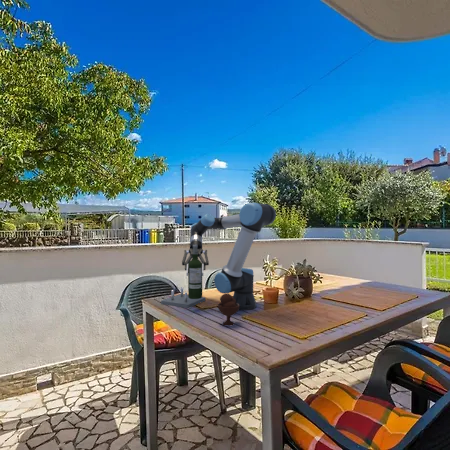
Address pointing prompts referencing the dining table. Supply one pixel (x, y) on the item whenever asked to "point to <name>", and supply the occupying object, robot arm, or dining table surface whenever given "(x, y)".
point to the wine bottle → (195, 276)
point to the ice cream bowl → (228, 307)
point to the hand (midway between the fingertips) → (194, 274)
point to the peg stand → (181, 300)
